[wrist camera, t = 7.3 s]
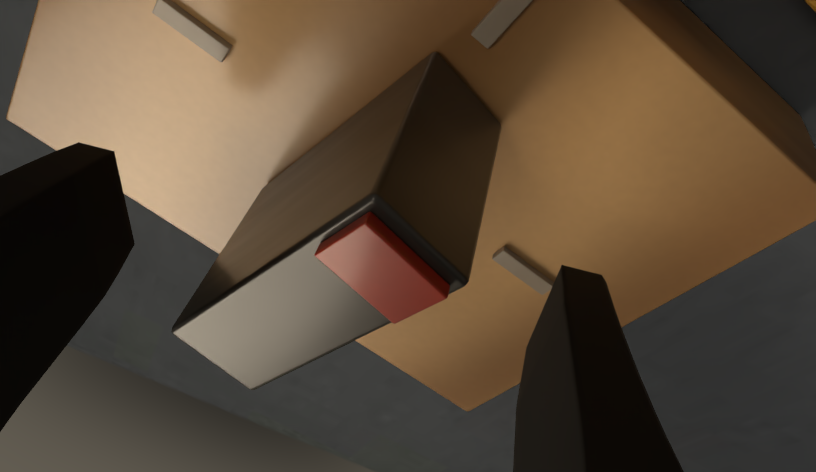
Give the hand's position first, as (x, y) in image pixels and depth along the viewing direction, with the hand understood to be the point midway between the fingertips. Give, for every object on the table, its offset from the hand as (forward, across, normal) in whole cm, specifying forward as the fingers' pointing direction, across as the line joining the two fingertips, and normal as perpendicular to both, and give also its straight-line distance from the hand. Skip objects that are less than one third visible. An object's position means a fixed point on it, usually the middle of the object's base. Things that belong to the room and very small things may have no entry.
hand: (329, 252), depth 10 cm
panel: (+6, 0, 0) cm, 6 cm away
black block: (+3, 0, 0) cm, 3 cm away
